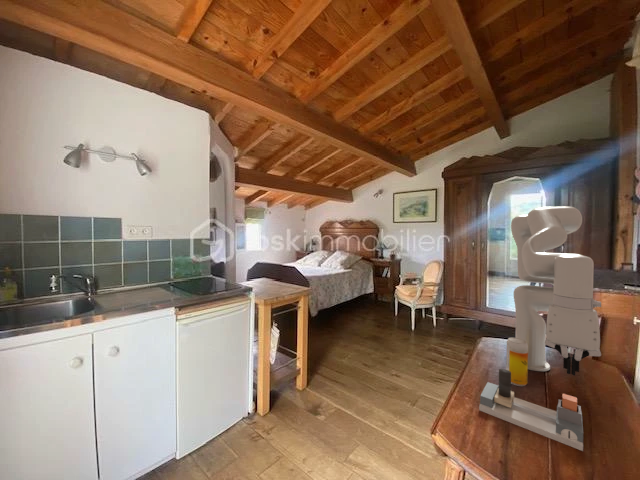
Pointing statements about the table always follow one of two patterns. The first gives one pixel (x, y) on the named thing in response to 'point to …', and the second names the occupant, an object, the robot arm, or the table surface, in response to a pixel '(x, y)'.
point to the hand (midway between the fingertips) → (570, 372)
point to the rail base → (537, 417)
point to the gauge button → (569, 402)
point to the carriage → (504, 389)
